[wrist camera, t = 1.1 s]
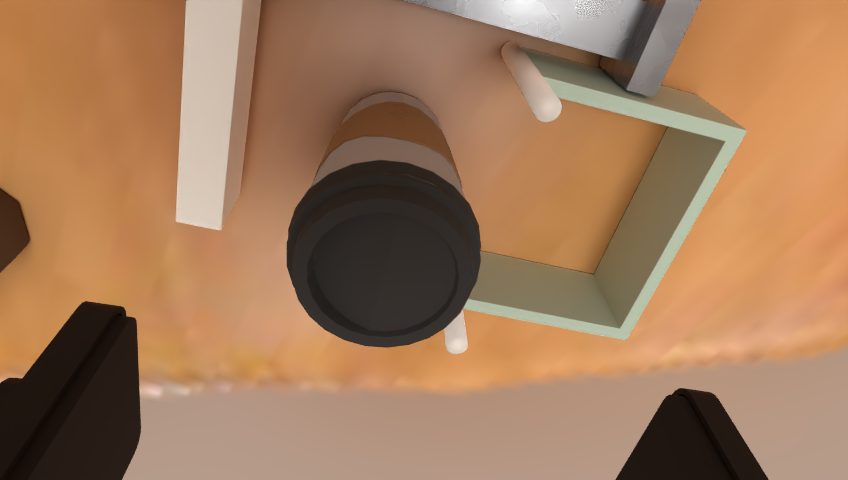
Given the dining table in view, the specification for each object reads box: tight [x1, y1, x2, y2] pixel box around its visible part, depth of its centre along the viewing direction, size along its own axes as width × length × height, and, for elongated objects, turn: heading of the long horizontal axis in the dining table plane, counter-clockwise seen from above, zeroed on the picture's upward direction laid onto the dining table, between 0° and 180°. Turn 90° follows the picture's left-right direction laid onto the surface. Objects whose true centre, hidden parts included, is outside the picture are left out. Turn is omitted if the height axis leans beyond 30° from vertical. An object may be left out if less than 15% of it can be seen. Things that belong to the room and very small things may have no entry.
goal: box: [444, 41, 747, 354], centre depth 33 cm, size 15×12×10 cm
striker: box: [176, 0, 261, 231], centre depth 26 cm, size 17×6×12 cm, turn 166°
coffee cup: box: [287, 92, 481, 347], centre depth 30 cm, size 8×8×15 cm
